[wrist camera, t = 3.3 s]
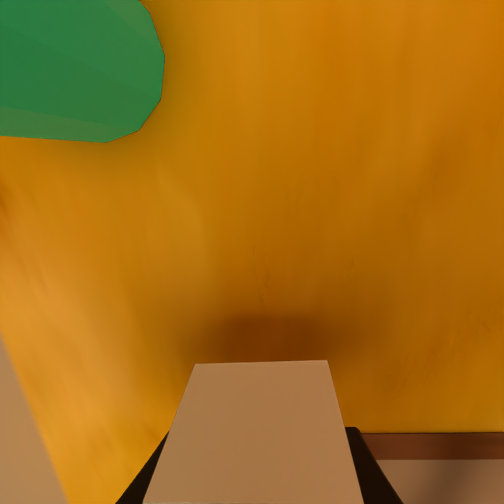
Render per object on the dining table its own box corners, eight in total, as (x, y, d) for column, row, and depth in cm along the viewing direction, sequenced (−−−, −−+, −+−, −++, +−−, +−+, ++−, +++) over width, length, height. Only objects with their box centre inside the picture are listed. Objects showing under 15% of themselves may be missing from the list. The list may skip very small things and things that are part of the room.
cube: (327, 360, 10) (363, 503, 6) (329, 462, 12) (361, 640, 7) (195, 363, 11) (142, 502, 7) (211, 462, 12) (176, 630, 8)
